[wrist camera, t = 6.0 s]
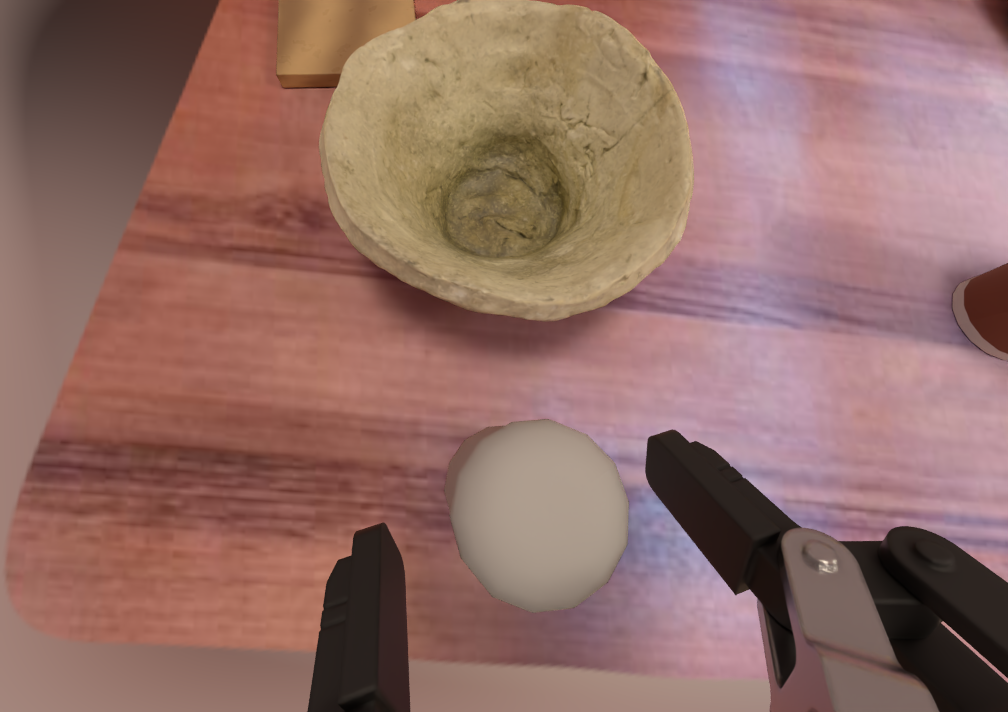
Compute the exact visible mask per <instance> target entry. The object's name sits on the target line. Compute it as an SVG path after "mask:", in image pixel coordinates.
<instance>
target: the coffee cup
mask: <svg viewBox="0 0 1008 712" xmlns="http://www.w3.org/2000/svg"><path fill="white" fill-rule="evenodd" d="M952 309H953V312H954V314H955V317H956V320H957V322H958V325H959V326H960V328H961V329H962V330H963V332H964V333H965V334H966V336H967V337H968V338H969V340H970V341H971V342H973V343H974V344H975V345H977V346H978V347H979V348H980V349H982V350H983V351H984V352H986V353H987V354H990V355H992V356H995V357H997V358H1000V359H1002V360H1008V263H1007V264H1005V265H1002V266H1000V267H998V268H995V269H993V270H991V271H988V272H986V273H984V274H981V275H979V276H976V277H973V278H971V279H968V280H966V281H964V282H962V283H960V284H959V285H958V287H957V288H956V290H955V292H954V293H953V307H952Z"/></svg>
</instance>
